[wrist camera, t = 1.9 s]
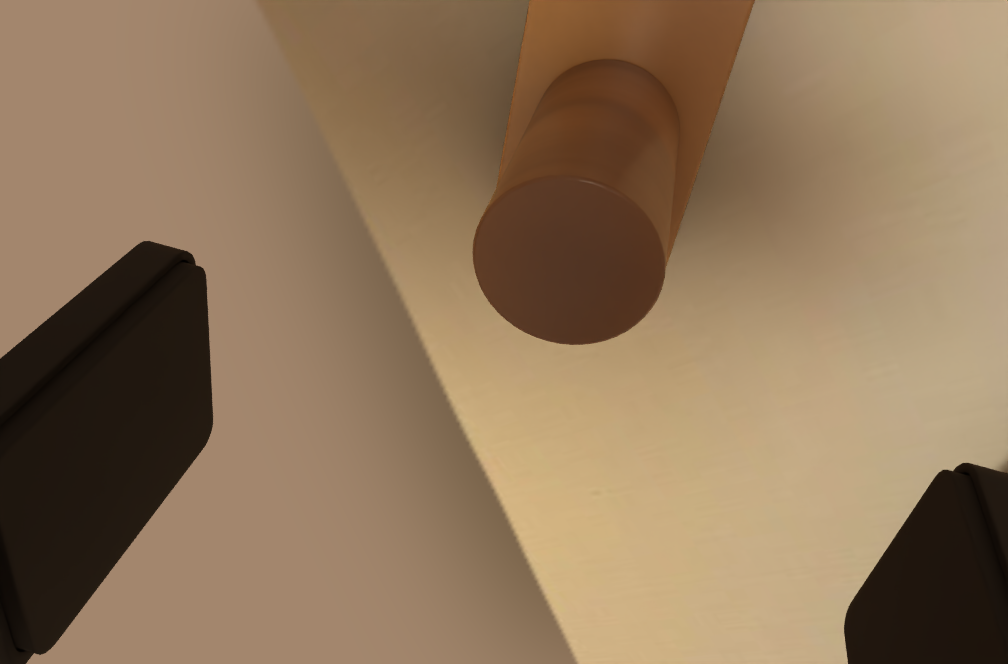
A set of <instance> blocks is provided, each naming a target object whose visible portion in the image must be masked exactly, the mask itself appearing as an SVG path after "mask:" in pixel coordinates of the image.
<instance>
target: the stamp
mask: <svg viewBox="0 0 1008 664" xmlns="http://www.w3.org/2000/svg"><path fill="white" fill-rule="evenodd" d="M754 1H755V0H530V2H529V7H528V13H527V19H526V24H525V30H524V35H523V41H522V47H521V52H520V58H519V63H518V69H517V75H516V80H515V86H514V91H513V97H512V103H511V108H510V114H509V119H508V125H507V131H506V136H505V142H504V147H503V153H502V159H501V164H500V170H499V175H498V181H497V187H496V190H495V192H494V194H493V196H492V198H491V200H490V202H489V204H488V206H487V208H486V210H485V212H484V214H483V216H482V218H481V220H480V222H479V225H478V227H477V230H476V233H475V237H474V242H473V263H474V268H475V273H476V276H477V279H478V282H479V285H480V287H481V289H482V291H483V293H484V295H485V296H486V298H487V299H488V301H489V302H490V304H491V305H492V306H493V307H494V308H495V309H496V311H497V312H498V313H499V314H500V315H501V316H503V317H504V318H505V319H506V320H507V321H508V322H510V323H511V324H512V325H514V326H515V327H517V328H518V329H520V330H522V331H524V332H525V333H528V334H530V335H532V336H534V337H537V338H540V339H543V340H546V341H550V342H555V343H560V344H570V345H583V344H591V343H597V342H601V341H605V340H608V339H611V338H614V337H616V336H618V335H620V334H622V333H624V332H626V331H628V330H629V329H631V328H632V327H633V326H635V325H636V324H637V323H638V322H640V321H641V320H642V319H643V318H644V317H645V316H646V315H647V314H648V312H649V311H650V310H651V309H652V307H653V306H654V304H655V302H656V301H657V299H658V297H659V294H660V292H661V290H662V286H663V282H664V278H665V270H666V266H667V263H668V260H669V257H670V254H671V251H672V248H673V245H674V242H675V239H676V236H677V233H678V230H679V227H680V224H681V221H682V218H683V215H684V212H685V209H686V206H687V203H688V200H689V197H690V194H691V191H692V188H693V185H694V182H695V179H696V176H697V173H698V170H699V167H700V164H701V160H702V157H703V154H704V151H705V148H706V145H707V142H708V139H709V136H710V133H711V130H712V127H713V124H714V121H715V118H716V115H717V112H718V109H719V106H720V103H721V100H722V97H723V94H724V91H725V88H726V85H727V82H728V79H729V76H730V73H731V70H732V67H733V64H734V61H735V58H736V55H737V52H738V49H739V46H740V43H741V40H742V37H743V34H744V31H745V28H746V25H747V22H748V19H749V16H750V13H751V10H752V7H753V4H754Z"/></svg>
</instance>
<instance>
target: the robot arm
mask: <svg viewBox="0 0 1008 664" xmlns="http://www.w3.org/2000/svg"><path fill="white" fill-rule="evenodd" d="M212 425H213V408H212V388H211V367H210V346H209V325H208V306H207V285H206V274H205V271H204V269H203V268H202V267H200V266H196V264H195V260H194V257H193V255H192V254H190V253H189V252H187V251H184V250H180V249H176V248H173V247H169V246H165V245H162V244H158V243H154V242H151V241H144V242H142V243H140V244H138V245H137V246H135V247H134V248H133V249H132V250H131V251H129V252H128V253H127V254H126V255H125V256H124V257H122V258H121V259H120V260H119V261H117V262H116V263H115V264H114V265H112V267H110V268H109V269H108V270H107V271H105V272H104V273H103V274H102V275H100V276H99V277H98V278H97V279H96V280H94V281H93V282H92V283H91V284H90V285H89V286H87V287H86V288H85V289H84V290H82V291H81V292H80V293H79V294H78V295H76V296H75V297H74V298H73V299H72V300H70V301H69V302H68V303H67V304H66V305H64V306H63V307H62V308H61V309H60V310H58V311H57V312H56V313H55V314H54V315H52V316H51V317H50V318H49V319H47V321H45V322H44V323H43V324H41V325H40V326H39V327H38V328H37V329H35V330H34V331H33V332H32V333H31V334H29V335H28V336H27V337H26V338H25V339H23V340H22V341H21V342H20V343H19V344H17V345H16V346H15V347H14V348H13V349H11V350H10V351H9V352H8V353H7V354H5V355H4V356H3V357H2V358H1V359H0V664H26V663H27V661H28V660H29V659H30V657H31V656H32V655H33V654H34V653H36V654H39V655H41V654H44V653H46V652H47V651H48V650H50V649H51V648H52V647H53V646H54V645H55V643H56V642H57V641H58V640H59V638H60V637H61V636H62V634H63V633H64V632H65V630H66V629H67V628H68V626H69V625H70V624H71V622H72V621H73V620H74V619H75V617H76V616H77V615H78V613H79V612H80V611H81V609H82V608H83V607H84V605H85V604H86V603H87V601H88V600H89V599H90V597H91V596H92V595H93V593H94V592H95V591H96V589H97V588H98V587H99V586H100V584H101V583H102V582H103V580H104V579H105V578H106V576H107V575H108V574H109V572H110V571H111V570H112V568H113V567H114V566H115V564H116V563H117V562H118V560H119V559H120V558H121V556H122V555H123V554H124V552H125V551H126V550H127V549H128V547H129V546H130V545H131V543H132V542H133V541H134V539H135V538H136V537H137V535H138V534H139V532H140V531H141V530H142V529H143V527H144V526H145V525H146V523H147V522H148V521H149V519H150V518H151V517H152V516H153V514H154V513H155V511H156V510H157V509H158V507H159V506H160V505H161V504H162V502H163V501H164V499H165V498H166V497H167V496H168V494H169V493H170V491H171V490H172V489H173V488H174V486H175V485H176V484H177V483H178V481H179V480H180V479H181V477H182V476H183V475H184V473H185V472H186V471H187V469H188V468H189V467H190V465H191V464H192V463H193V461H194V460H195V459H196V457H197V456H198V455H199V453H200V452H201V451H202V450H203V448H204V447H205V445H206V443H207V441H208V439H209V437H210V434H211V431H212ZM844 634H845V642H846V650H847V658H848V664H1008V474H1007V473H1003V472H1000V471H996V470H992V469H989V468H985V467H981V466H978V465H974V464H970V463H962V464H961V465H959V466H957V467H956V468H955V469H954V471H950V470H942V471H941V472H939V473H938V474H937V476H936V477H935V478H934V480H933V481H932V482H931V484H930V485H929V487H928V488H927V490H926V491H925V493H924V494H923V496H922V497H921V499H920V500H919V502H918V503H917V505H916V506H915V508H914V509H913V511H912V512H911V514H910V515H909V517H908V518H907V520H906V521H905V523H904V524H903V526H902V527H901V529H900V530H899V532H898V533H897V535H896V536H895V538H894V539H893V541H892V542H891V544H890V545H889V547H888V548H887V550H886V551H885V553H884V554H883V556H882V557H881V559H880V560H879V562H878V563H877V565H876V566H875V568H874V569H873V571H872V572H871V574H870V575H869V577H868V578H867V579H866V581H865V582H864V584H863V585H862V587H861V588H860V590H859V591H858V593H857V594H856V596H855V597H854V599H853V600H852V602H851V604H850V606H849V608H848V610H847V613H846V618H845V625H844Z"/></svg>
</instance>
